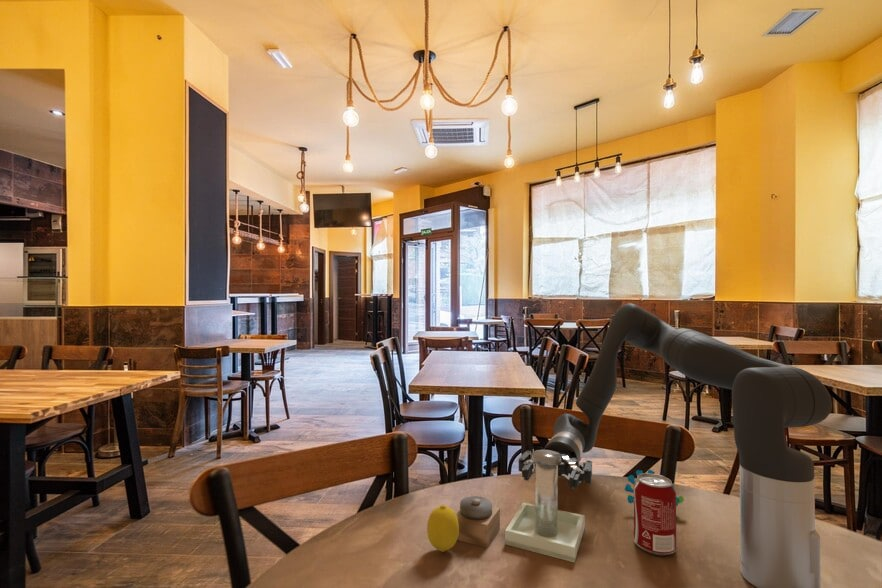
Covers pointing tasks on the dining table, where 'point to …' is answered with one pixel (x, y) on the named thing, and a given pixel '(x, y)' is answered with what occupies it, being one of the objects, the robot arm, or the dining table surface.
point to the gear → (632, 480)
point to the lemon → (443, 528)
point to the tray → (558, 546)
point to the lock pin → (546, 492)
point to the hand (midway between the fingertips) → (548, 479)
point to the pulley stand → (477, 521)
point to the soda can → (655, 514)
